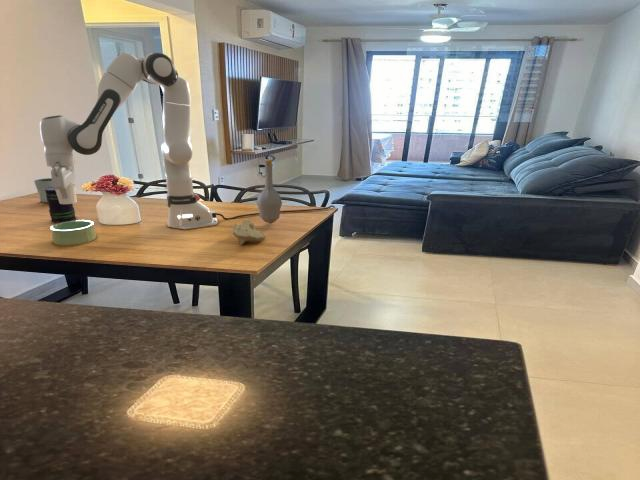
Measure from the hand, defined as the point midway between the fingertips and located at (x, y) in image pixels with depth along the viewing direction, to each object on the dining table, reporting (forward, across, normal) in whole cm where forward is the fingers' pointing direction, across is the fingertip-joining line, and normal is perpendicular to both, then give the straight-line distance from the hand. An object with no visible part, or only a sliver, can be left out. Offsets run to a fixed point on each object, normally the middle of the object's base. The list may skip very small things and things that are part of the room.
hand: (67, 196), depth 148 cm
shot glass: (+2, 0, 0) cm, 2 cm away
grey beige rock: (+18, -28, -64) cm, 72 cm away
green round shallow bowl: (+18, 0, 0) cm, 18 cm away
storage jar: (+18, +34, +10) cm, 40 cm away
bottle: (+18, -3, -80) cm, 82 cm away
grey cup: (+18, +80, +25) cm, 86 cm away
